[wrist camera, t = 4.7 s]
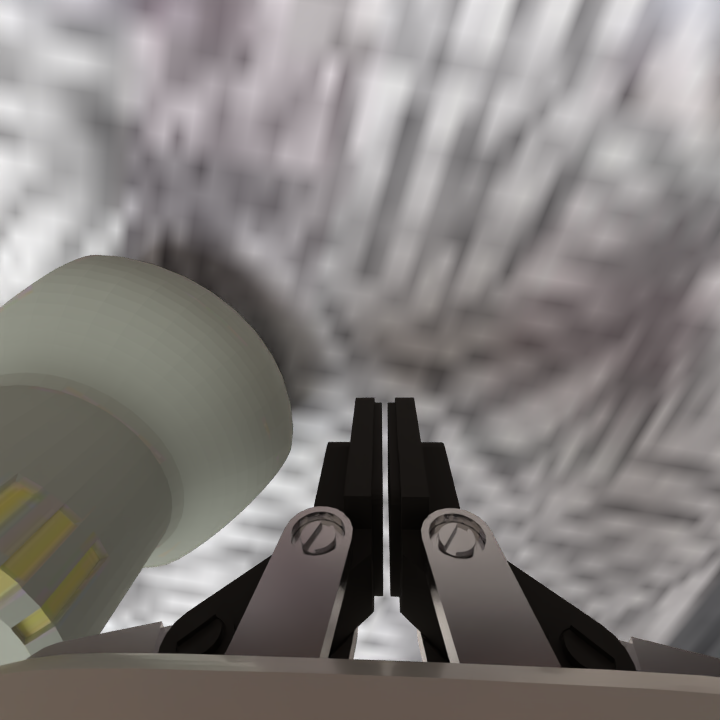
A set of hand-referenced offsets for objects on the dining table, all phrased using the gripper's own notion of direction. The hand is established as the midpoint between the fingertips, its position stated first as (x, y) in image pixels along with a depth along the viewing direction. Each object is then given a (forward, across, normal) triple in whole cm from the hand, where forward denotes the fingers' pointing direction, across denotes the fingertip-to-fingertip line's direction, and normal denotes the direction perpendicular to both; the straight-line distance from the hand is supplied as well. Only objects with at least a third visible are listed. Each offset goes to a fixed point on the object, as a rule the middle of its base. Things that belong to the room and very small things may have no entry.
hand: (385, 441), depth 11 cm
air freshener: (+4, +8, 0) cm, 10 cm away
